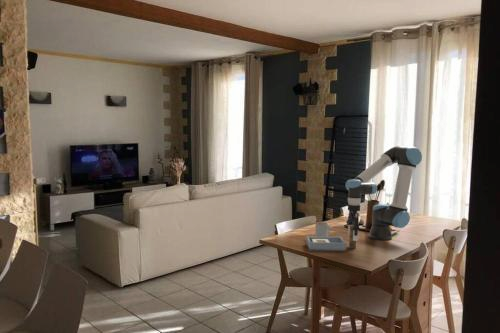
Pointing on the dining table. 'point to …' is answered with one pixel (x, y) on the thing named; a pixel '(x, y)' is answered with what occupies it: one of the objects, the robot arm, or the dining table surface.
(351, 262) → the dining table surface
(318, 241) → the crate
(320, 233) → the mug
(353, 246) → the peg
